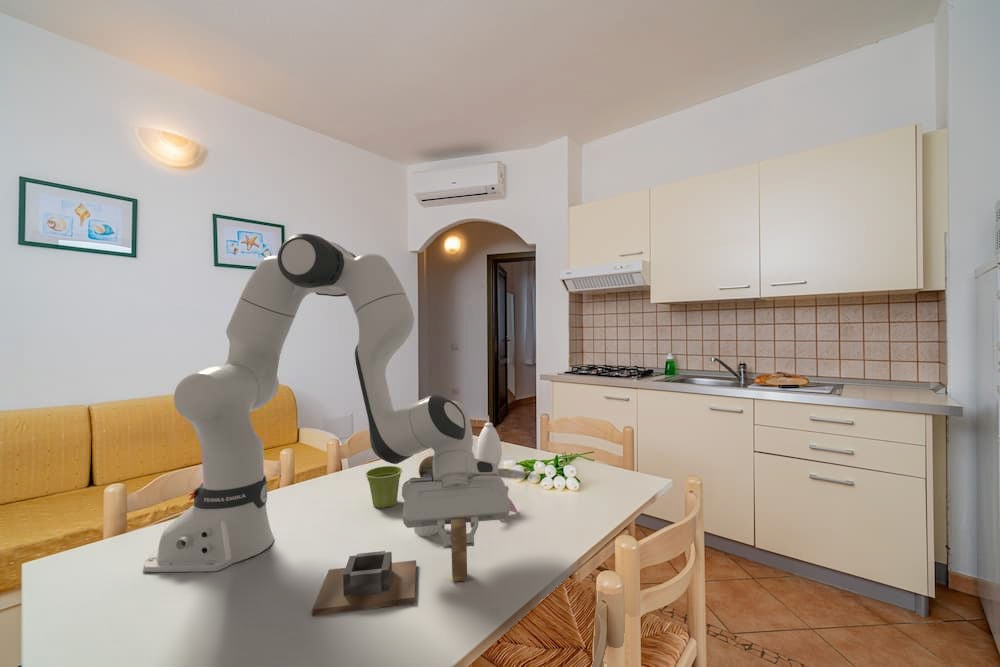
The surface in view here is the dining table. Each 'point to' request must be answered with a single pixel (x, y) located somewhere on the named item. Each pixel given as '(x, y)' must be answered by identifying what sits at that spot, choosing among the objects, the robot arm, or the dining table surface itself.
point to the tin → (426, 467)
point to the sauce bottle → (489, 444)
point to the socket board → (367, 584)
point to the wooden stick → (459, 550)
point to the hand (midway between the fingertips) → (459, 546)
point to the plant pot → (384, 485)
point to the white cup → (425, 530)
